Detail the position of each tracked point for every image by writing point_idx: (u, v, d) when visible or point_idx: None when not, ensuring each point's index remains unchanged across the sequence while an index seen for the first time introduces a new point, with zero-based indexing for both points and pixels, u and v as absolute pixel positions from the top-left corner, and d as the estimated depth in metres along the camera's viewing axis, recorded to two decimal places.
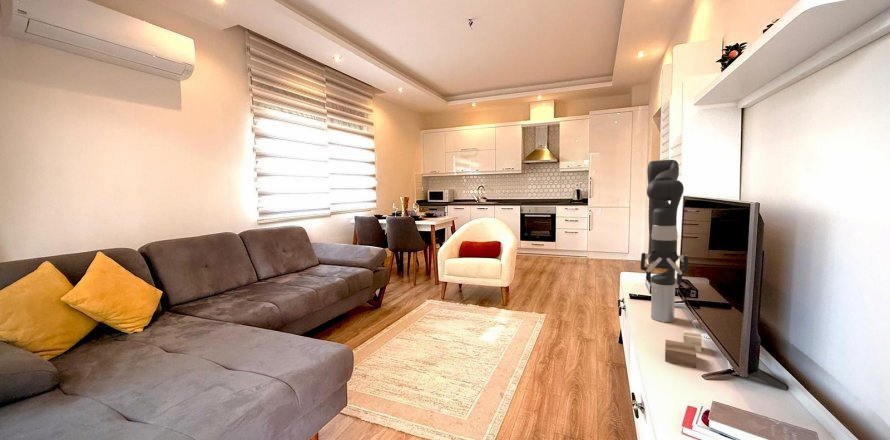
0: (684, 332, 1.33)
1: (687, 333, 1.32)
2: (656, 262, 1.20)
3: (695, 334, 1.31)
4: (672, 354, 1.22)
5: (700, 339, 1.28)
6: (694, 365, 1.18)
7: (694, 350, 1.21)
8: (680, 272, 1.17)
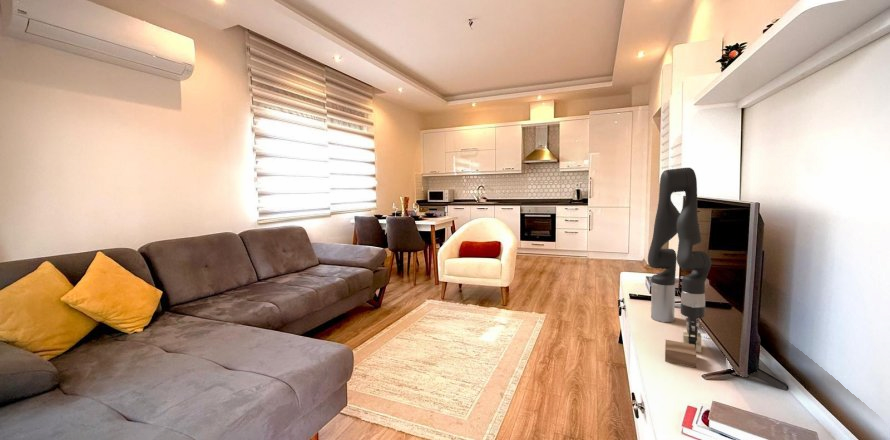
0: (684, 332, 1.33)
1: (686, 333, 1.32)
2: None
3: None
4: (672, 354, 1.22)
5: (700, 339, 1.28)
6: (694, 365, 1.18)
7: (694, 350, 1.21)
8: None
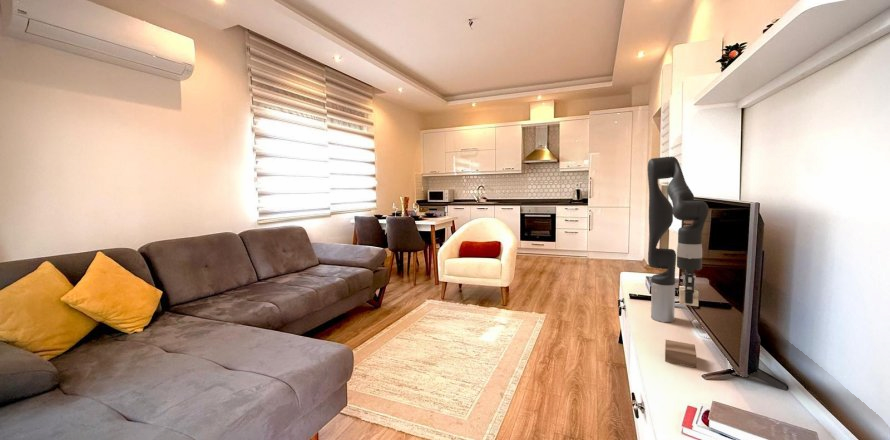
0: (680, 287, 1.28)
1: (683, 287, 1.27)
2: None
3: None
4: (672, 354, 1.22)
5: (697, 292, 1.22)
6: (694, 365, 1.18)
7: (694, 350, 1.21)
8: None
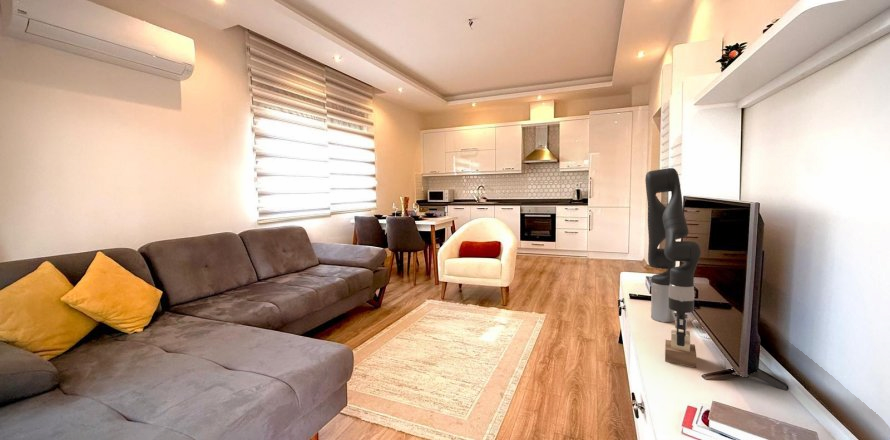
0: (672, 330, 1.25)
1: (675, 331, 1.24)
2: (686, 323, 1.20)
3: None
4: (672, 354, 1.22)
5: (689, 337, 1.20)
6: (694, 365, 1.18)
7: (694, 350, 1.21)
8: None
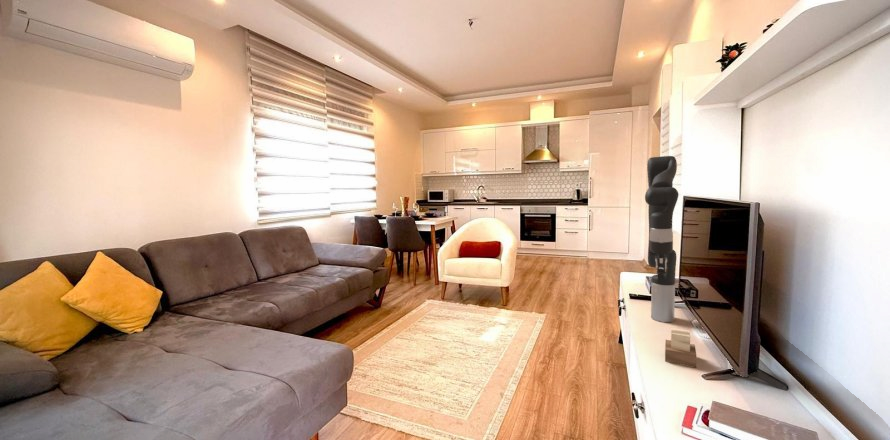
0: (672, 330, 1.25)
1: (675, 331, 1.24)
2: (666, 262, 1.30)
3: (684, 332, 1.23)
4: (672, 354, 1.22)
5: (689, 337, 1.20)
6: (694, 365, 1.18)
7: (694, 350, 1.21)
8: None
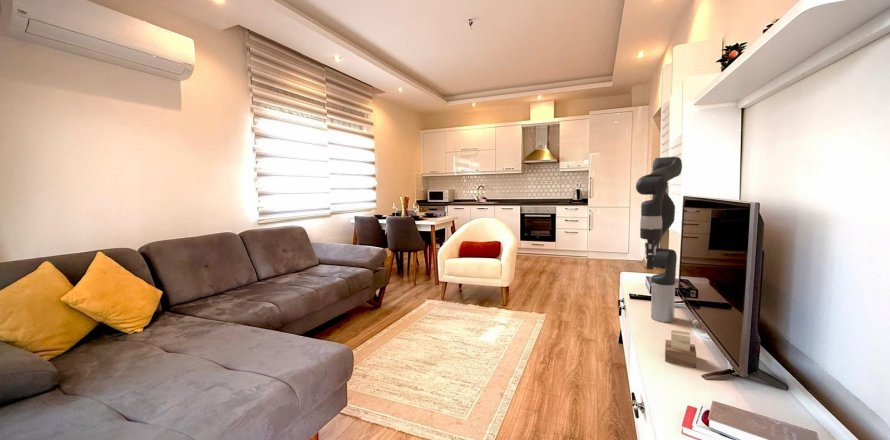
0: (672, 330, 1.25)
1: (675, 331, 1.24)
2: (655, 249, 1.35)
3: (684, 332, 1.23)
4: (672, 354, 1.22)
5: (689, 337, 1.20)
6: (694, 365, 1.18)
7: (694, 350, 1.21)
8: None
